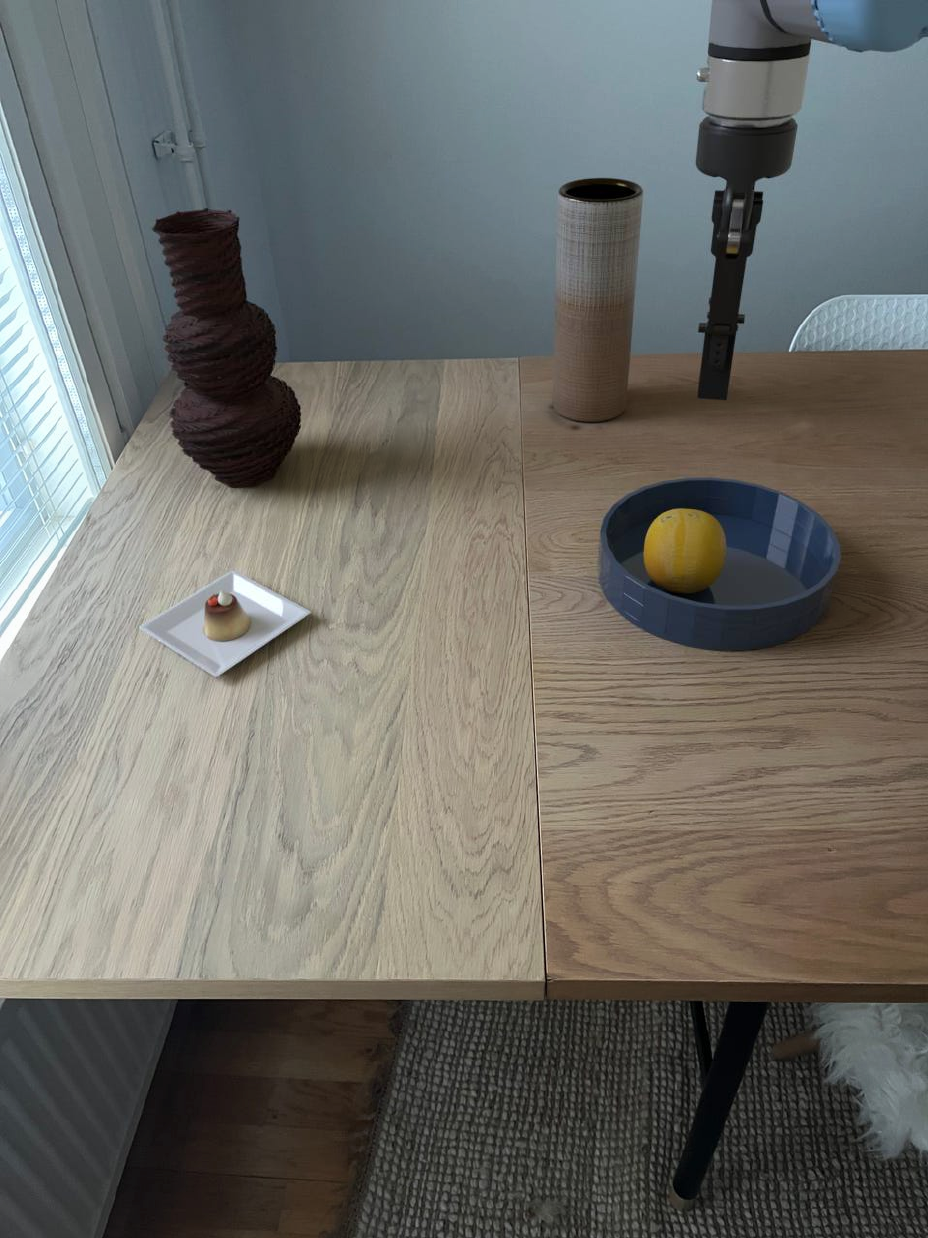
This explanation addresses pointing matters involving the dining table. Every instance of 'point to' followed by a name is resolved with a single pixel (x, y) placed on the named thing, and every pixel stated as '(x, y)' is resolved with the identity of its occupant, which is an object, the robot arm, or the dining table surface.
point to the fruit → (684, 550)
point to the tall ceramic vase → (595, 296)
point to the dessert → (224, 622)
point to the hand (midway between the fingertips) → (712, 395)
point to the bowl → (751, 575)
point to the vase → (223, 355)
